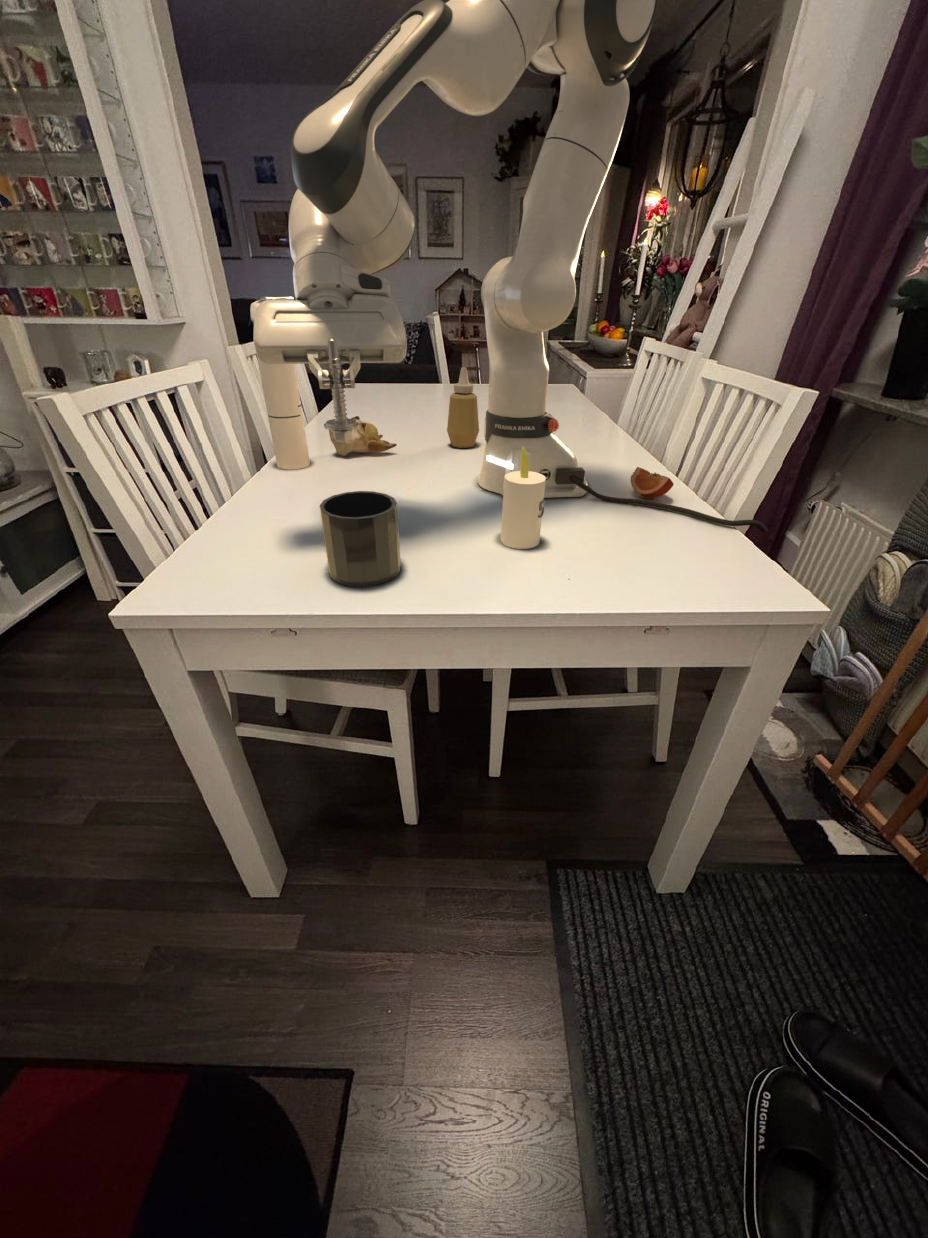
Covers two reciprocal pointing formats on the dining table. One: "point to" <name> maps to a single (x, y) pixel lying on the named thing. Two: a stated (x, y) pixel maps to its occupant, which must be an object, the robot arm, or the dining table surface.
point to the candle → (522, 506)
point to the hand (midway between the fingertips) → (337, 385)
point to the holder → (361, 537)
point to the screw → (338, 398)
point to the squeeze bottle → (463, 414)
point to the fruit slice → (650, 483)
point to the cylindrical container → (284, 414)
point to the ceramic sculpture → (362, 440)
